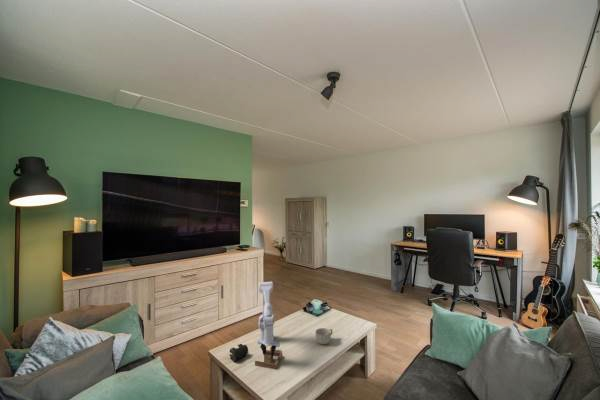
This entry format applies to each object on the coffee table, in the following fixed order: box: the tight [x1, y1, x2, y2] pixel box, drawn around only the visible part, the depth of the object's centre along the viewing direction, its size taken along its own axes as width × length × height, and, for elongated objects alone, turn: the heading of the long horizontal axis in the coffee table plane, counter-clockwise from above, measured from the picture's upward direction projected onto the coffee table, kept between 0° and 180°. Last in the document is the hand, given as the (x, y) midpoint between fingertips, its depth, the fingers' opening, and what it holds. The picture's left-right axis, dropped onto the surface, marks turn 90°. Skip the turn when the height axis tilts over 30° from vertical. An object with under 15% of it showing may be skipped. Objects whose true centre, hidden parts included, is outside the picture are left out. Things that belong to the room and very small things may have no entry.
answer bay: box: [254, 349, 283, 370], centre depth 162 cm, size 13×14×2 cm
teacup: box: [315, 327, 334, 346], centre depth 184 cm, size 14×11×8 cm
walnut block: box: [263, 350, 274, 363], centre depth 162 cm, size 4×4×4 cm
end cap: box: [229, 343, 249, 362], centre depth 165 cm, size 10×7×7 cm
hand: (268, 356), depth 162 cm, fingers closed on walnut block, 4 cm apart
